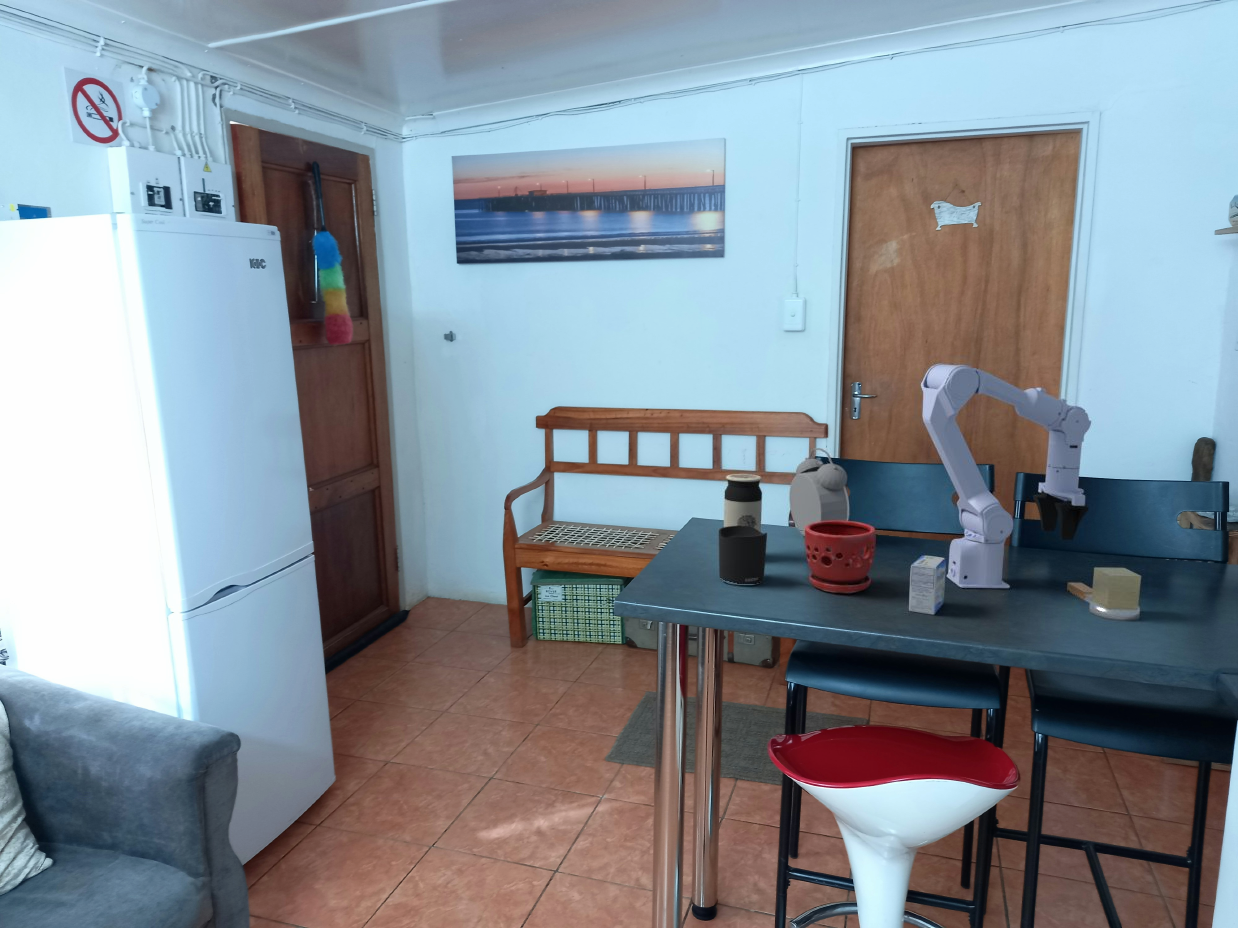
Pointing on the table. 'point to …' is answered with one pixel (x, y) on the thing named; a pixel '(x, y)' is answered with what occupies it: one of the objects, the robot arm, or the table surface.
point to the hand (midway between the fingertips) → (1057, 534)
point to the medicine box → (927, 584)
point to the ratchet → (1096, 609)
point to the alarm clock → (818, 493)
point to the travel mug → (743, 501)
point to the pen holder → (742, 554)
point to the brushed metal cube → (1116, 588)
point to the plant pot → (840, 555)
